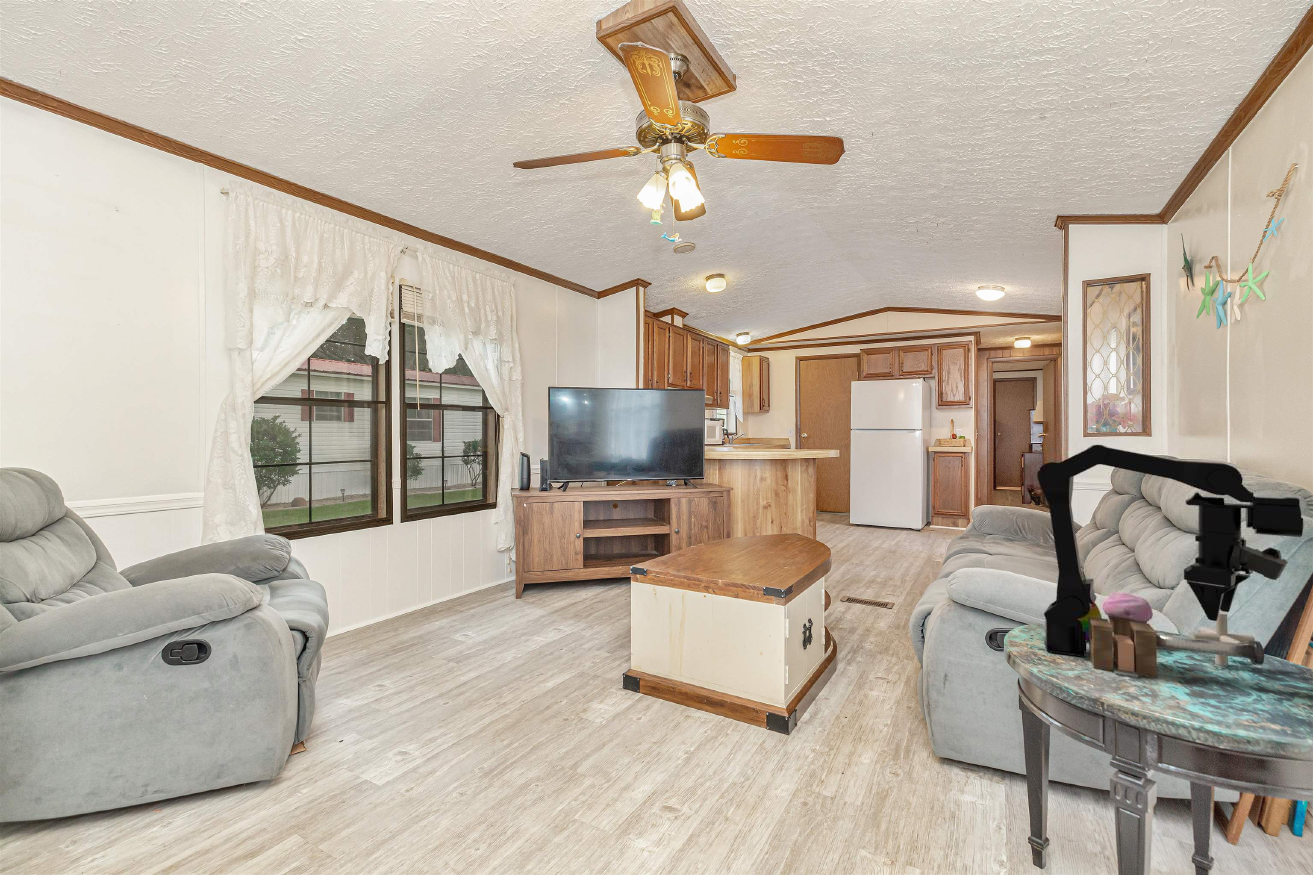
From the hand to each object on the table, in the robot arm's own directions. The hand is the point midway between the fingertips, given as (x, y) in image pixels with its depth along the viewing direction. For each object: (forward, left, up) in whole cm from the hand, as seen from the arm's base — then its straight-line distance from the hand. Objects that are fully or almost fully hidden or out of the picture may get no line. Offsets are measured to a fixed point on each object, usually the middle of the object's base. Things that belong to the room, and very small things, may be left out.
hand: (1219, 615), depth 109 cm
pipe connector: (+3, +10, -12) cm, 15 cm away
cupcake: (-10, +20, -12) cm, 25 cm away
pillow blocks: (-15, -1, -12) cm, 19 cm away
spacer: (-14, -1, -11) cm, 18 cm away
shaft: (-3, -1, -8) cm, 8 cm away
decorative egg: (-19, +17, -12) cm, 28 cm away
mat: (-15, -1, -12) cm, 19 cm away
